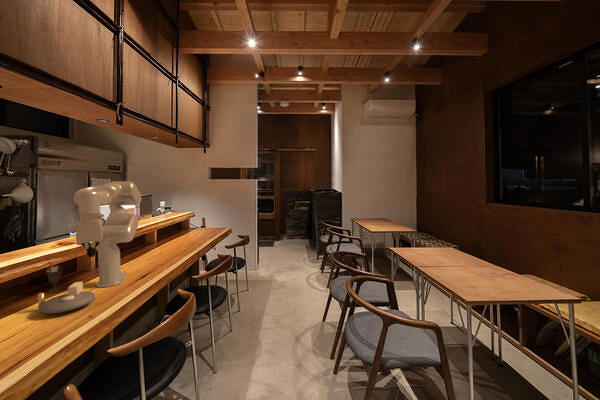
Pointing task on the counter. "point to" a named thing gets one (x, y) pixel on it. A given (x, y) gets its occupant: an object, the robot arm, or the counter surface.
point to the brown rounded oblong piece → (43, 300)
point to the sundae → (54, 276)
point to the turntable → (68, 300)
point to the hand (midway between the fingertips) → (91, 256)
